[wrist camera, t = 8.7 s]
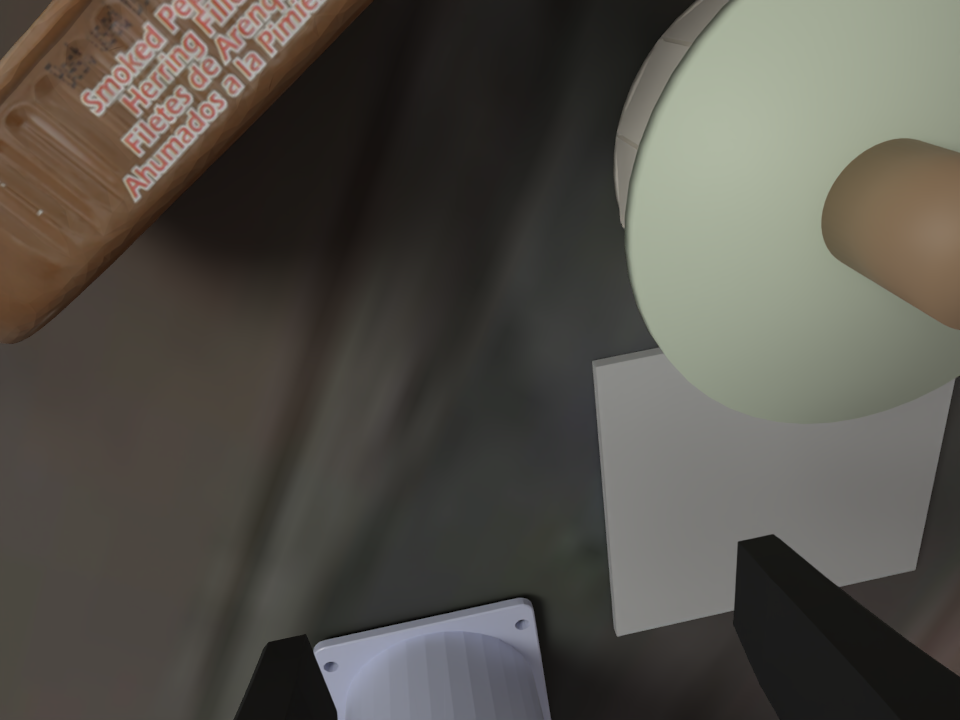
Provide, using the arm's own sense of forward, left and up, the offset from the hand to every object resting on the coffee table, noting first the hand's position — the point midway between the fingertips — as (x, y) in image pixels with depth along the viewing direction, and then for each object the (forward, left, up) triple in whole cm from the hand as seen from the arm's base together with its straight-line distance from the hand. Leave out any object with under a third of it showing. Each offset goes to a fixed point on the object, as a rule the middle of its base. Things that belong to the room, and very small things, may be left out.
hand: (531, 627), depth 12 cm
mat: (-7, -10, -10) cm, 16 cm away
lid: (+4, -9, -6) cm, 12 cm away
